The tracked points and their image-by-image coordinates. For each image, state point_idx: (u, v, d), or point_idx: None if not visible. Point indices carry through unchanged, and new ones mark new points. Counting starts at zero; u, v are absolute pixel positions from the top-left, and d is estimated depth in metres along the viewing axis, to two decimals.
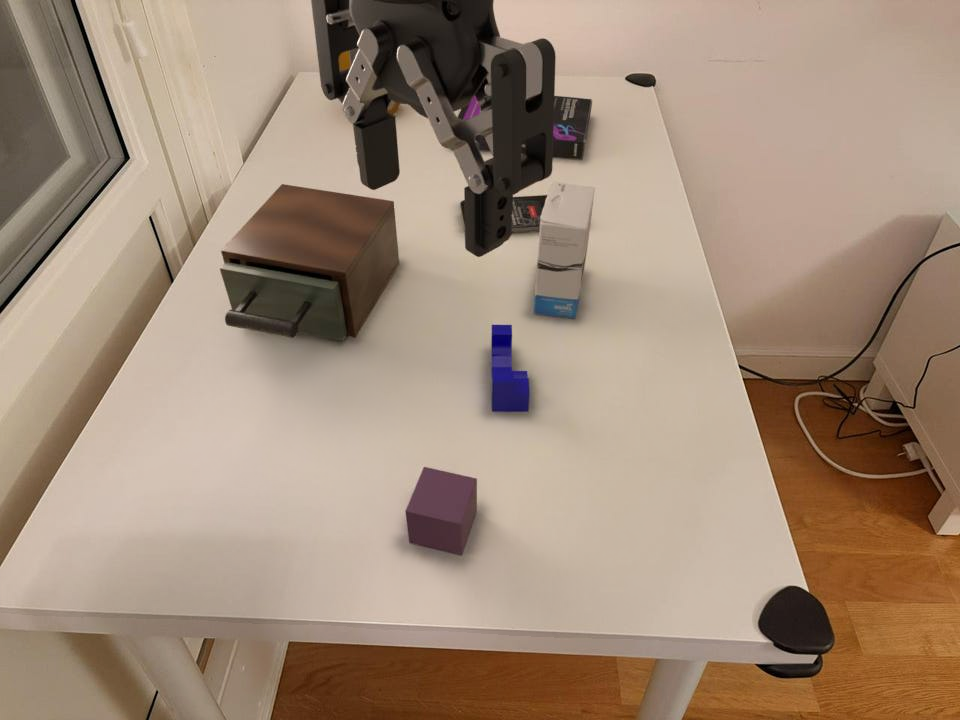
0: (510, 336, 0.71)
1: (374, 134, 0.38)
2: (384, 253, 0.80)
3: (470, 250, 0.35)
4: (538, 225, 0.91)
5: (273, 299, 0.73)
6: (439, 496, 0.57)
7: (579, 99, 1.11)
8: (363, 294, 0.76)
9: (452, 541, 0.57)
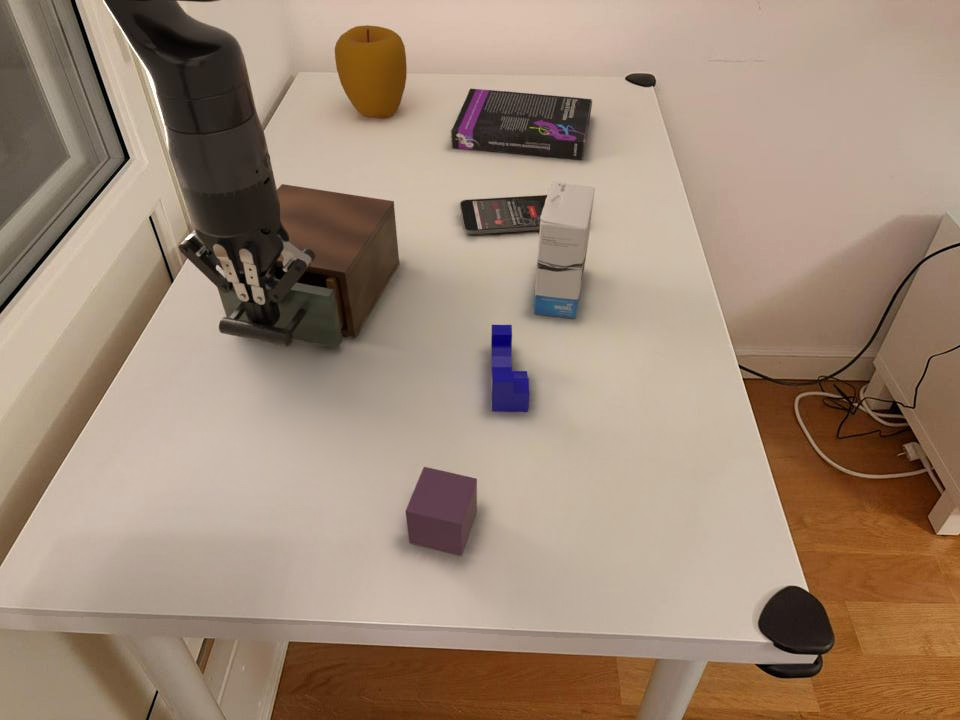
0: (510, 336, 0.71)
1: None
2: (384, 253, 0.80)
3: None
4: (538, 225, 0.91)
5: None
6: (439, 496, 0.57)
7: (579, 99, 1.11)
8: (363, 294, 0.76)
9: (452, 541, 0.57)
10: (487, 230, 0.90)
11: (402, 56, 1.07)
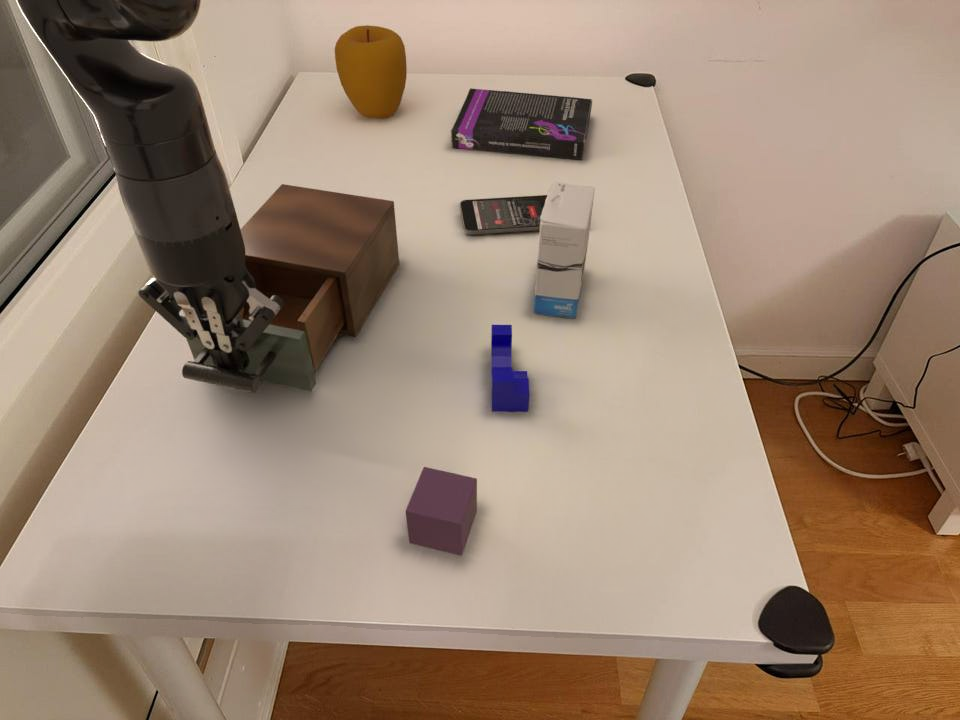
0: (510, 336, 0.71)
1: None
2: (384, 253, 0.80)
3: None
4: (538, 225, 0.91)
5: None
6: (439, 496, 0.57)
7: (579, 99, 1.11)
8: (363, 294, 0.76)
9: (452, 541, 0.57)
10: (487, 230, 0.90)
11: (402, 56, 1.07)
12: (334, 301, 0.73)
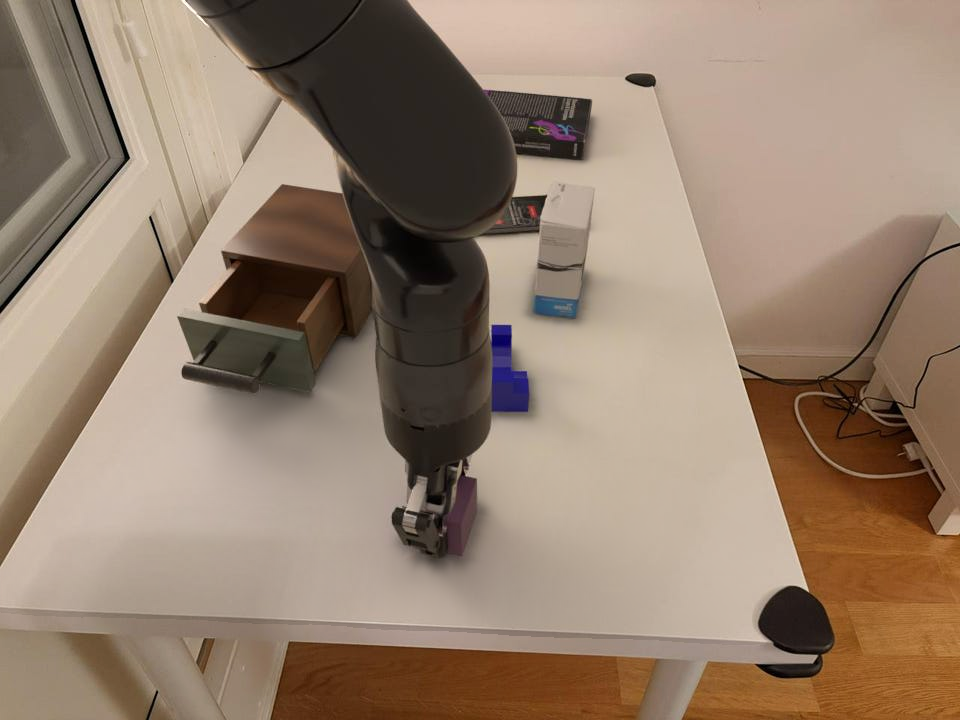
0: (510, 336, 0.71)
1: None
2: None
3: None
4: (538, 225, 0.91)
5: (235, 348, 0.68)
6: None
7: (579, 99, 1.11)
8: (363, 294, 0.76)
9: (452, 541, 0.57)
10: (487, 230, 0.90)
11: None
12: (333, 302, 0.73)
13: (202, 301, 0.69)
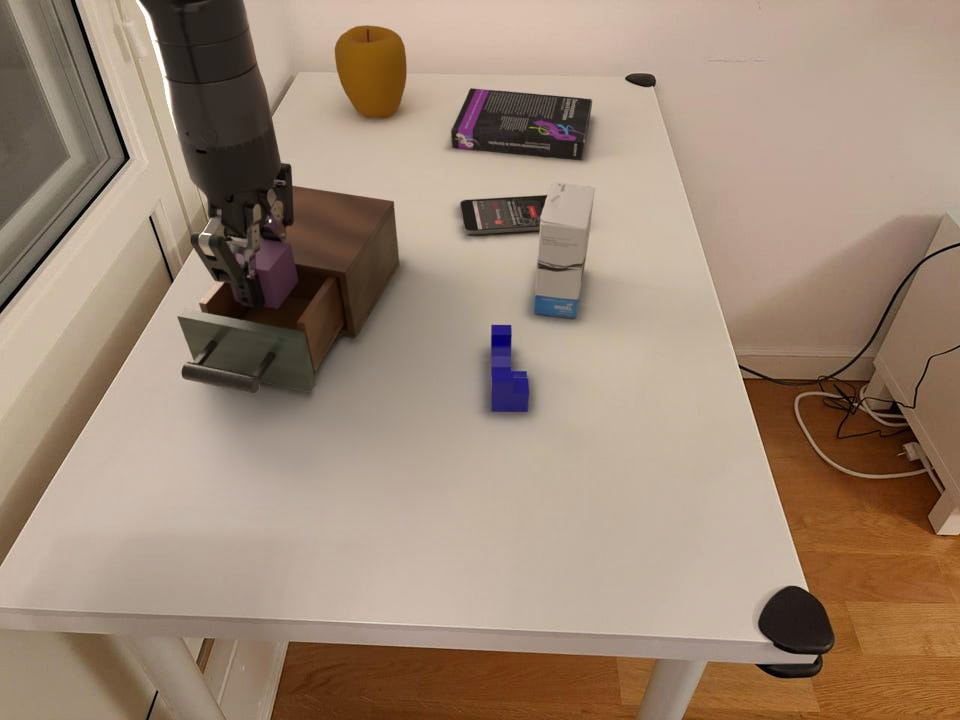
0: (510, 336, 0.71)
1: None
2: (384, 253, 0.80)
3: None
4: (538, 225, 0.91)
5: (235, 348, 0.68)
6: None
7: (579, 99, 1.11)
8: (363, 294, 0.76)
9: (266, 292, 0.67)
10: (487, 230, 0.90)
11: (402, 56, 1.07)
12: (333, 302, 0.73)
13: (202, 301, 0.69)
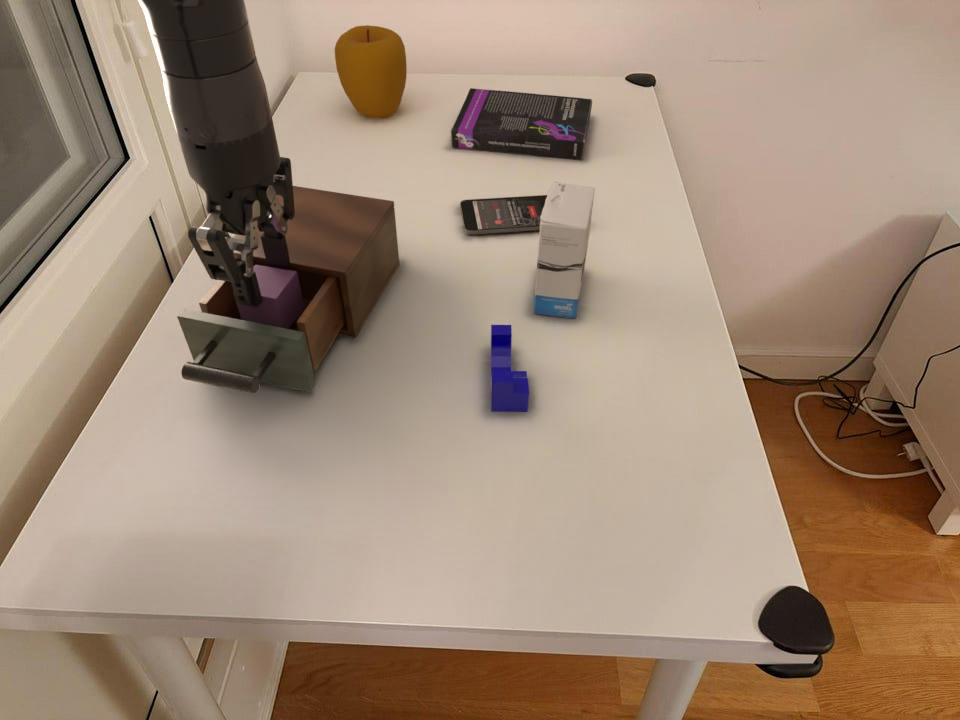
0: (510, 336, 0.71)
1: (268, 242, 0.69)
2: (384, 253, 0.80)
3: None
4: (538, 225, 0.91)
5: (235, 348, 0.68)
6: (263, 282, 0.69)
7: (579, 99, 1.11)
8: (363, 294, 0.76)
9: (274, 319, 0.69)
10: (487, 230, 0.90)
11: (402, 56, 1.07)
12: (333, 302, 0.73)
13: (202, 301, 0.69)
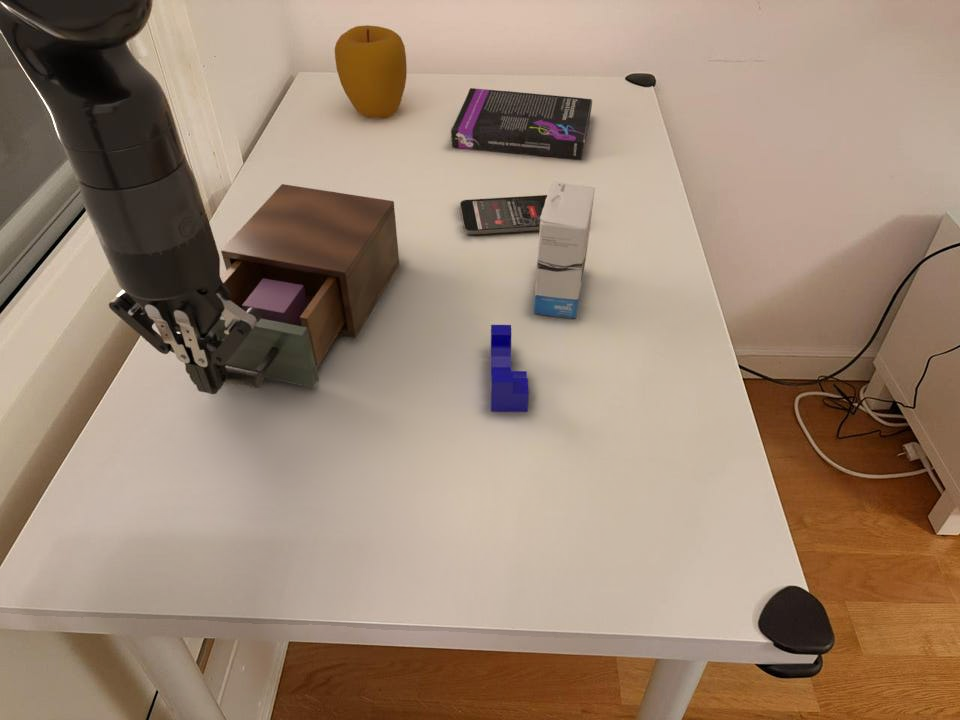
0: (509, 336, 0.71)
1: None
2: (384, 253, 0.80)
3: None
4: (538, 225, 0.91)
5: None
6: (271, 296, 0.71)
7: (579, 99, 1.11)
8: (363, 294, 0.76)
9: None
10: (487, 230, 0.90)
11: (402, 56, 1.07)
12: (336, 298, 0.73)
13: None
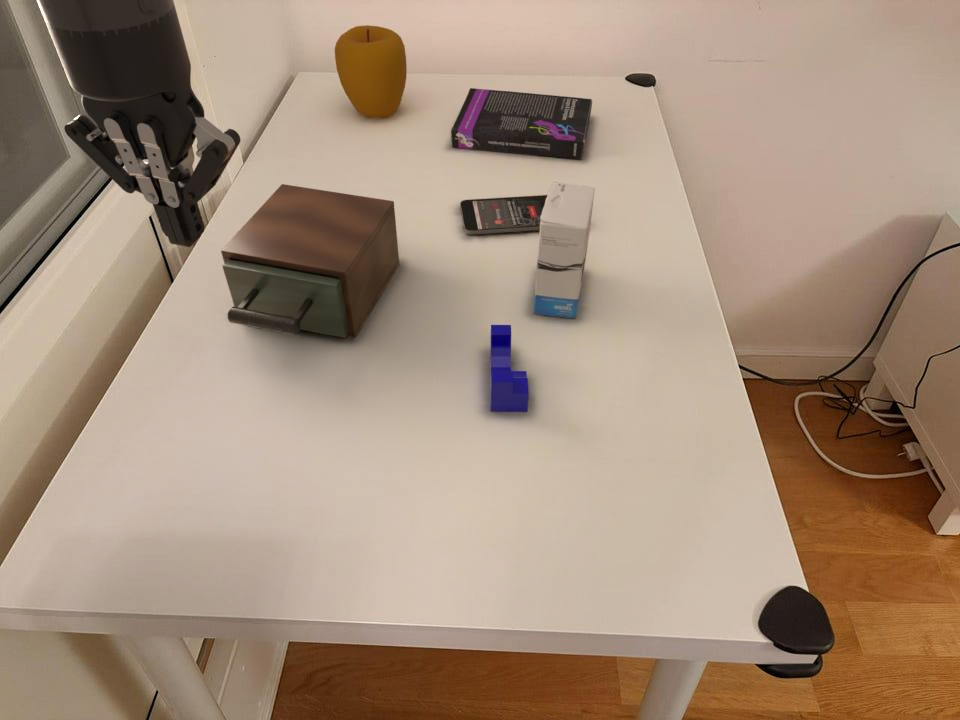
0: (509, 336, 0.71)
1: None
2: (384, 253, 0.80)
3: None
4: (538, 225, 0.91)
5: (275, 296, 0.74)
6: None
7: (579, 99, 1.11)
8: (363, 294, 0.76)
9: None
10: (487, 230, 0.90)
11: (402, 56, 1.07)
12: None
13: None
